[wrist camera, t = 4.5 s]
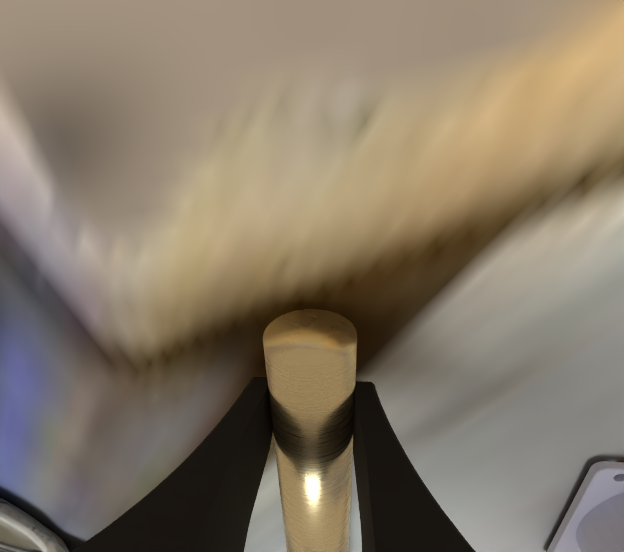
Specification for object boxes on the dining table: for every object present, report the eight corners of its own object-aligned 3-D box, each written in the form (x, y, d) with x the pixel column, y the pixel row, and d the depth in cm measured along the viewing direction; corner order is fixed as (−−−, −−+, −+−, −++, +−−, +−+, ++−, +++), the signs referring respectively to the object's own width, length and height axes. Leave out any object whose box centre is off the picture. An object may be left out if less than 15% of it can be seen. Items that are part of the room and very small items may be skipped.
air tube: (359, 309, 12) (361, 372, 9) (348, 583, 21) (346, 658, 18) (272, 305, 12) (246, 364, 9) (297, 576, 21) (288, 648, 18)
